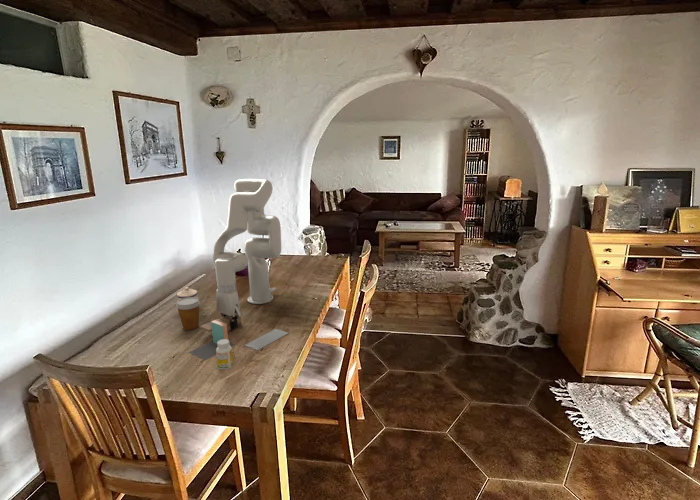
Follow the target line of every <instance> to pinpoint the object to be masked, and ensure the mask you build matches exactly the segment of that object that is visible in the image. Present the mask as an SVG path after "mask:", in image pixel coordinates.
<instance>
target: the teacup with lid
mask: <svg viewBox="0 0 700 500" xmlns="http://www.w3.org/2000/svg"><path fill="white" fill-rule="evenodd" d="M198 293H199V292H198V290H196V289H192V288H189V287H188V286H186V287H184V288H183V289H182V290H181V291H179V292H177V294H176V297H177V301H178V300H180V299H182V298H187V297H196V298H198V299H199V294H198Z"/></svg>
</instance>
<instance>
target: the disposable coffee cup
mask: <svg viewBox="0 0 700 500" xmlns="http://www.w3.org/2000/svg"><path fill="white" fill-rule="evenodd" d="M200 304H201V301H200V300H199V297H198V298H196V297H187V298H182V299H180V300H178V299H177V301H176V305H175V306H176V308H177V311H178V315H179V318H180V322H181V326H182V329H183V330H184V331H191V330H196V329H197V328H199V327H200V325H199V324H200V323H199V322H200V320H199V319H200Z"/></svg>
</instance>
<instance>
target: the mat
mask: <svg viewBox="0 0 700 500" xmlns="http://www.w3.org/2000/svg"><path fill="white" fill-rule="evenodd" d="M229 343H230V344H229V345H230V346H231V347H232V348H233V347H234V346H236V344H235V343H233V342H231V341H229ZM217 347H218V346H217V344H215V343H213V340H211V341H210V342H207V343H205V344H203V345H200V346H198V347H197V348H194V349H193V350H190V351H189V352H188V354H191V355H193V356H195V357H197V358H199V359H202V360H203V361H207V360H208V359H210V358H212V357H214V356H216V348H217Z"/></svg>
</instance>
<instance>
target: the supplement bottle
mask: <svg viewBox="0 0 700 500" xmlns="http://www.w3.org/2000/svg"><path fill="white" fill-rule="evenodd" d="M229 342H230V340H229V339H228V340H227V339H222V340H219V341H218V342H217V346H218V347H217V348H216V355H215V356H216V364H217V368H218V369H219V370H228V369H230V368H232V367H233V366H234V358H233V346H232V347H231V346H230V345H229V344H230V343H229Z"/></svg>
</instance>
